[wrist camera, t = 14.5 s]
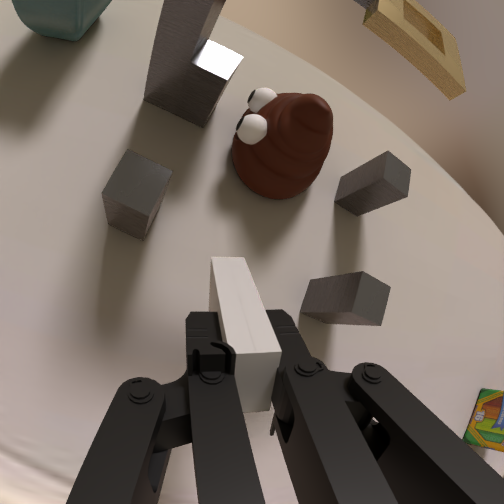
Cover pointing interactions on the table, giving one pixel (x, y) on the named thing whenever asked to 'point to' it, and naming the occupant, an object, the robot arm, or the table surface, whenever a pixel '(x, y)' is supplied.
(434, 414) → the robot arm
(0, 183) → the table surface
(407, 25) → the sight ring stand
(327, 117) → the poop emoji
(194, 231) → the table surface
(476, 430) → the chalk box
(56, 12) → the flower pot
